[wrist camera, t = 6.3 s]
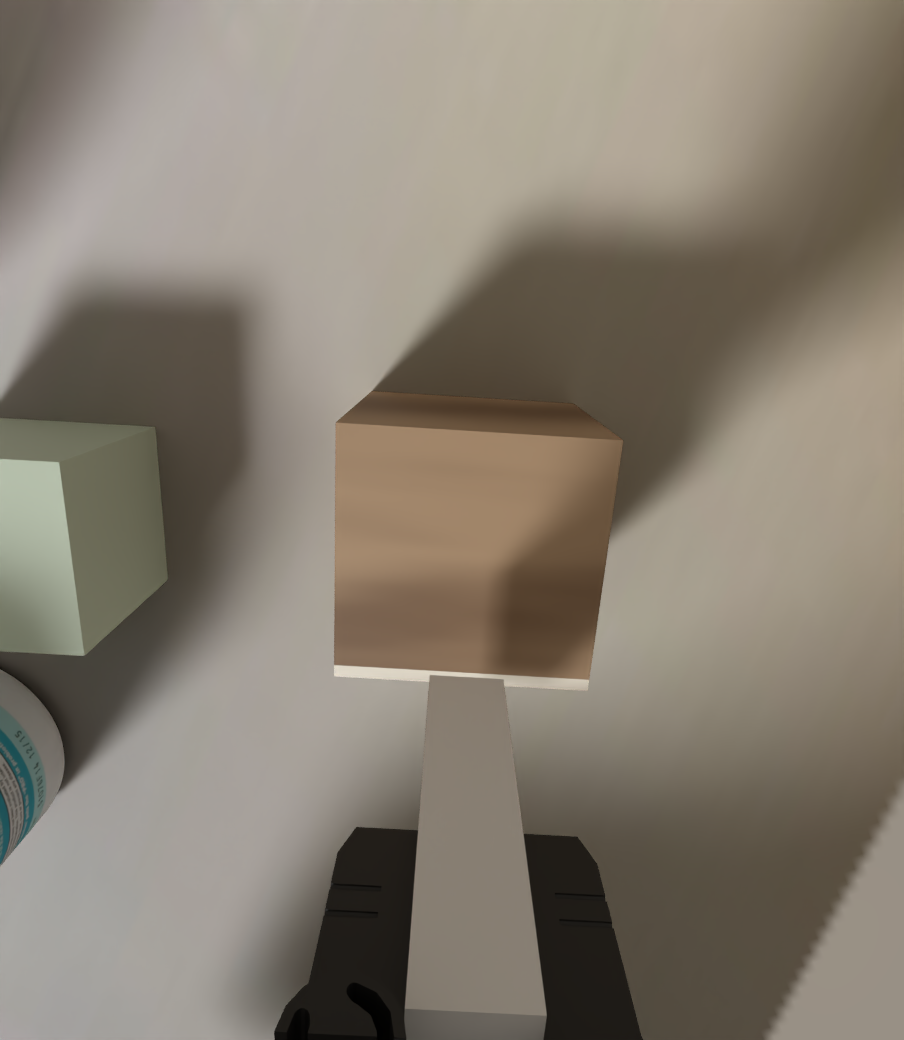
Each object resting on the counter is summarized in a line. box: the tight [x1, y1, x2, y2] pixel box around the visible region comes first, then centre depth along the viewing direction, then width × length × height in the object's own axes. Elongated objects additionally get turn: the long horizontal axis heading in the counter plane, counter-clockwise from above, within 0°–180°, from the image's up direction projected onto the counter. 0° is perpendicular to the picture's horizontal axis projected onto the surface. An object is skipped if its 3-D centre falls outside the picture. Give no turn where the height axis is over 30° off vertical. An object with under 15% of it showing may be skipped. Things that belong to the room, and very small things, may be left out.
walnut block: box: [334, 391, 623, 691], centre depth 17 cm, size 6×6×6 cm
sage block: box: [0, 418, 168, 656], centre depth 18 cm, size 5×5×5 cm
